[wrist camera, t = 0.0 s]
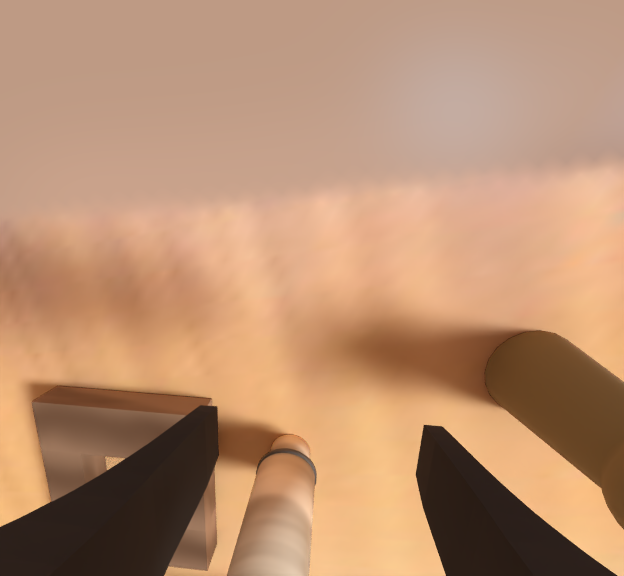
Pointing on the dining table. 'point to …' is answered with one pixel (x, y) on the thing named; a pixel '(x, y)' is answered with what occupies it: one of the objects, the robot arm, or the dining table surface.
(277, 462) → the ash peg
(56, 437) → the walnut board
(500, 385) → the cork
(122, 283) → the dining table surface
